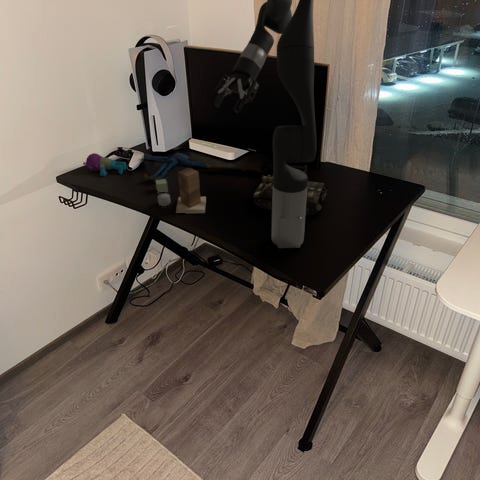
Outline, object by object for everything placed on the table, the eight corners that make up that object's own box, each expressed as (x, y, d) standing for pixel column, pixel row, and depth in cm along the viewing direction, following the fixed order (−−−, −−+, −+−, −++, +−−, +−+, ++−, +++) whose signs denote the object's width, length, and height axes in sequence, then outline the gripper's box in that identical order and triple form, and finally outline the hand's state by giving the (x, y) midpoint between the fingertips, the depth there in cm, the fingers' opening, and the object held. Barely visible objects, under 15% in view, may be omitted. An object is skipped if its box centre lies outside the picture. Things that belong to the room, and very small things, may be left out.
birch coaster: (204, 213, 144) (204, 209, 143) (176, 213, 144) (176, 210, 143) (206, 199, 152) (205, 196, 151) (179, 200, 152) (178, 197, 151)
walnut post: (200, 202, 147) (198, 171, 141) (190, 207, 145) (187, 176, 139) (191, 198, 150) (188, 167, 144) (181, 203, 147) (177, 172, 141)
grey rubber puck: (170, 207, 148) (169, 199, 146) (157, 207, 148) (156, 199, 146) (171, 201, 151) (170, 193, 150) (159, 201, 151) (158, 193, 150)
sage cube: (168, 192, 157) (167, 183, 155) (158, 193, 156) (156, 184, 154) (166, 187, 160) (165, 178, 158) (156, 189, 159) (155, 180, 157)
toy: (129, 170, 178) (92, 161, 179) (129, 154, 174) (91, 145, 175) (117, 184, 168) (77, 174, 169) (117, 168, 164) (77, 158, 165)
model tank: (263, 190, 157) (264, 149, 149) (328, 199, 151) (332, 157, 143) (252, 208, 147) (252, 165, 139) (321, 218, 141) (325, 173, 132)
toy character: (113, 168, 165) (149, 144, 184) (115, 179, 167) (150, 154, 186) (187, 181, 156) (216, 153, 175) (188, 192, 158) (217, 164, 177)
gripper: (227, 52, 142) (203, 97, 142) (262, 58, 134) (236, 106, 133) (239, 67, 148) (216, 110, 148) (273, 74, 140) (248, 119, 140)
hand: (225, 108), depth 141 cm, fingers open, 8 cm apart
